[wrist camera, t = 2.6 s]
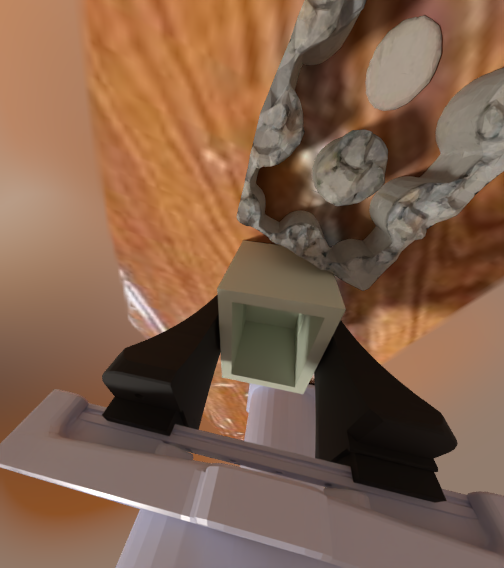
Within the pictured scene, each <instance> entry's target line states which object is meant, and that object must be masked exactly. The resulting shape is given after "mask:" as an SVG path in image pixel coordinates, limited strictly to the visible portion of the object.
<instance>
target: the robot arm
mask: <svg viewBox="0 0 504 568" xmlns="http://www.w3.org/2000/svg"><path fill="white" fill-rule="evenodd" d="M220 352H221V348H220V329H219V310H218V295H216V296H215V297H214V298H213V299H212V300H211V301H210V302H209V303H207V304H206V305H205V306H204V307H202V308H201V309H200V310H199V311H197V312H196V313H195V314H193V315H192V316H190V317H189V318H187V319H186V320H184V321H183V322H181V323H179V324H178V325H176V326H174V327H172V328H170V329H169V330H167V331H165V332H163V333H161V334H159V335H156V336H154V337H152V338H150V339H148V340H145V341H143V342H140V343H138V344H135V345H132V346H130V347H127V348H125V349H124V350H123V351H122V352H121V353H120V354H119V355H118V357H117V358H116V359H115V360H114V362H113V363H112V364H111V365H110V366H109V368H108V369H107V370H106V371H105V372H104V374H103V375H102V379H103V382H104V384H105V385H106V386H107V387H108V389H109V390H110V391H111V392H112V393H113V395H114V396H115V397H114V399H113V400H112V402H111V403H110V404H109V406H108V407H107V408H106V407H102V406H98V405H94V404H90V403H88V401H87V400H86V399H85V398H84V397H83V396H81V395H78V394H75V393H71V392H67V391H63V390H58V389H56V390H53V391H52V392H51V393H50V394H49V395H48V396H47V397H46V398H45V399H44V400H43V402H41V403H40V404H39V405H38V406H37V407H36V408H35V409H34V410H33V412H31V413H30V414H29V415H28V416H27V417H26V418H25V420H23V421H22V423H20V424H19V425H18V426H17V428H15V429H14V431H12V432H11V433H10V434H9V435H8V437H7V438H6V439H5V440H4V441H3V442H2V443H1V444H0V467H1V468H5V469H8V470H11V471H14V472H18V473H21V474H24V475H27V476H31V477H34V478H37V479H41V480H45V481H48V482H51V483H54V484H58V485H61V486H64V487H68V488H71V489H75V490H78V491H81V492H85V493H88V494H91V495H95V496H98V497H101V498H105V499H108V500H111V501H115V502H118V503H121V504H125V505H128V506H132V507H135V508H138V509H140V511H139V513H138V516H137V518H136V520H135V523H134V525H133V528H132V530H131V532H130V535H129V537H128V539H127V542H126V544H125V547H124V549H123V551H122V554H121V556H120V558H119V561H118V563H117V566H116V568H504V496H502V495H498V494H494V493H489V492H472V493H468V495H465V494H461V493H456V492H453V491H449V490H444V489H441V487H440V484H439V482H438V480H437V478H436V475H435V473H434V472H438V467H437V465H436V463H435V461H434V459H433V458H436V457H438V456H441V455H443V454H446V453H449V452H451V451H452V450H454V449H455V447H456V446H457V440H456V438H455V436H454V435H453V433H452V431H451V429H450V428H449V426H448V424H447V422H446V421H445V419H444V417H443V415H442V414H441V413H440V412H439V411H438V410H436V409H435V408H434V407H432V406H431V405H429V404H428V403H427V402H425V401H424V400H422V399H421V398H420V397H418V396H417V395H416V394H414V393H413V392H412V391H411V390H409V389H408V388H407V387H406V386H404V385H403V384H402V383H401V382H399V381H398V380H397V379H396V378H395V377H394V376H392V375H391V374H390V373H389V372H388V371H387V370H386V369H385V368H383V367H382V366H381V365H380V364H379V363H378V362H377V361H376V360H375V359H374V358H373V357H372V356H371V355H370V354H369V353H368V352H367V351H366V350H365V349H364V348H363V347H362V346H361V345H360V343H359V342H358V341H357V340H356V339H355V338H354V336H353V335H352V334H351V333H350V332H349V330H348V329H347V328H346V326H345V325H344V324H343V322H342V321H341V320H340V322H339V324H338V326H337V328H336V330H335V332H334V334H333V336H332V338H331V340H330V342H329V344H328V346H327V348H326V350H325V352H324V354H323V356H322V358H321V360H320V362H319V364H318V366H317V368H316V370H315V372H314V376H315V385H310V384H308V386H307V388H306V390H305V392H304V394H299V393H295V392H290V391H285V390H280V389H276V388H271V387H266V386H261V385H257V384H252V383H250V386H249V394H248V402H247V412H249V415H248V421H247V427H246V433H245V439H244V441H242V440H238V439H234V438H230V437H226V436H222V435H218V434H213V433H209V432H205V431H201V430H199V426H200V422H201V418H202V415H203V411H204V407H205V403H206V399H207V396H208V392H209V388H210V385H211V381H212V378H213V375H214V371H215V368H216V365H217V361H218V358H219V355H220ZM186 451H187V452H186ZM189 452H191V453H195V454H199V455H203V456H207V457H210V458H215V459H218V460H222V461H226V462H230V463H234V464H238V465H240V467H237V466H233V465H228V464H222V463H212V464H211V463H205V462H200V461H194V460H193V455H192V454H191V453H189ZM323 486H324V487H325V488H324V487H323Z"/></svg>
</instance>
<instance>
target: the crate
mask: <svg viewBox="0 0 504 568" xmlns="http://www.w3.org/2000/svg"><path fill="white" fill-rule="evenodd" d="M217 292H218V310H219V329H220V348H221V366H222V377H223V378H228V379H233V380H238V381H242V382H247V383H252V384H257V385H261V386H266V387H271V388H276V389H280V390H285V391H290V392H295V393H299V394H304V392H305V390H306V388H307V386H308V384H309V382H310V380H311V378H312V376H313V374H314V372H315V370H316V368H317V366H318V364H319V362H320V360H321V358H322V356H323V354H324V352H325V350H326V348H327V346H328V344H329V342H330V340H331V338H332V336H333V334H334V332H335V330H336V328H337V326H338V324H339V322H340V320H341V318H342V316H343V314H344V312H345V310H346V308H345V305H344V302H343V299H342V296H341V293H340V291H339V288H338V285H337V282H336V279H335V276H334V274H333V273H331V272H329V271H327V270H321V269H319V268H318V267H317V266H315V265H313V264H312V263H310V262H309V261H307V260H306V259H303V258H301V257H299V256H298V255H296V254H295V253H294V252H292V251H291V250H289V249H288V248H286V247H284V246H282V245H274V244H267V243H260V242H252V241H245V240H243V242H242V244H241V245H240V247H239V249H238V251H237V253H236V255H235V257H234V258H233V260H232V262H231V264H230V266H229V268H228V270H227V271H226V273H225V275H224V277H223V279H222V281H221V283H220V284H219V286H218V288H217Z"/></svg>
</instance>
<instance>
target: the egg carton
mask: <svg viewBox="0 0 504 568" xmlns="http://www.w3.org/2000/svg"><path fill="white" fill-rule="evenodd" d="M365 3H366V0H305V1H304V4H303V6H302V8H301V11H300V13H299V16H298V18H297V21H296V24H295V27H294V30H293V33H292V36H291V39H290V42H289V44H288V46H287V49H286V51H285V53H284V56H283V58H282V61H281V63H280V65H279V68H278V70H277V73H276V75H275V78H274V80H273V83H272V85H271V88H270V90H269V93H268V95H267V98H266V101H265V103H264V106H263V108H262V111H261V113H260V116H259V121H258V125H257V130H256V134H255V138H254V142H253V146H252V150H251V154H250V159H249V165H248V169H247V174H246V178H245V183H244V188H243V192H242V196H241V200H240V204H239V208H238V213H237V220H238V221H239V222H240V223H242V224H244V225H246V226H251V227H253V228H255V229H257V230H259V231H260V232H262V233H263V234H265V235H266V236H268V238H269V239H270V240H271V241H272V242H274V243H275V244H279V245H282V246H284V247H286V248H288V249H289V250H291V251H292V252H294V253H295V254H296V255H298V256H299V257H301V258H303V259H306V260H307V261H309V262H310V263H312V264H313V265H315V266H317V267H318V268H319V269H321V270H327V271H329V272H331V273H333V274H334V275H336V276H337V277H338V278H340V279H341V280H343V281H345V282H346V283H348V284H350V285H352V286H354V287H356V288H358V289H360V290H362V291H364V290H366V289H369V287H370V286H371V285H372V284H373V283H374V282H375V281H376V280H377V279H378V278H379V277H380V275H381V274H382V273H383V272H384V271H385V270H386V269H387V268H388V267H389V266H390V265H392V264H393V263H394V262H395V261H396V260H397V258H398V256H399V255H400V253H401V251H403V250H404V249H405V248H406V247H407V246H408V245H409V244H411V243H412V242H413V241H414V240H417V239H423V238H424V237H425V235H426V231H427V229H428V228H429V227H431V226H432V225H434V224H435V223H438V222H441V221H443V220H446V219H449V218H452V217H454V216H456V215H458V214H459V213H460V211H461V210H462V209H463V208H464V207H465V206H466V205H467V204H468V203H469V201H470V200H471V199H472V198H473V197H474V196H475V195H476V194H477V193H478V192H479V191H480V190H481V189H482V188H483V187H484V186H485V185H487V184H488V183H489V182H490V181H491V180H493V179H494V178H495V177H497V176H498V175H499V174H500V173H502V172H503V171H504V68H501V69H498V70H495V71H493V72H491V73H488V74H486V75H483V76H481V77H479V78H477V79H475V80H473V81H472V82H470V83H469V84H468V85H466V86H465V87H464V88H463V89H461V90H460V91H459V92H458V93H457V94H456V95H455V96H454V97H453V98H452V99H451V100H450V102H449V103H448V105H447V106H446V107H445V109H444V111H443V113H442V115H441V117H440V119H439V120H438V123H437V128H436V142H437V144H438V147H439V149H440V152H441V154H440V156H439V157H438V158H437V160H436V161H435V162H434V163H433V164H432V165H431V166H430V167H429V168H428V169H427V171H426V172H425V173H424V174H423V175H422V176H421V177H419V178H418V177H412V176H403V177H398V178H395V179H393V180H391V181H389V182H387V183H386V184H385V185H383V184H384V183H385V171H386V165H387V159H388V149H387V147H386V145H385V143H384V142H383V140H382V139H381V138H379V137H378V136H376V135H375V134H373V133H372V132H371V131H367V130H353V131H351V132H349V133H348V134H346V135H345V136H343V137H341V138H338V139H336V140H334V141H332V142H330V143H329V144H327V145H326V146H325V147H324V148H323V149H322V150H321V151H320V152H319V154H318V155H317V157H316V158H315V161H314V164H313V167H312V180H313V183H314V185H315V187H316V189H317V191H318V193H319V194H320V195H321V196H322V197H323V198H324V199H325V200H326V201H327V202H329V203H331V204H333V205H335V206H342V205H352V204H354V203H359V202H361V201H363V200H364V199H366V198H368V197H370V196H371V195H373V194H374V193H375V192H377V193H376V194H375V195H374V197H373V198H372V200H371V203H370V208H369V212H370V216H371V219H372V220H373V222H374V223H375V225H376V227H375V228H374V229H373V230H372V232H371V233H370V234H369V235H368V236H367V237H366V238H365V239H364V240H362V241H361V240H357V239H346V240H343V241H341V242H339V243H337V244H335V245H334V246H332V247H329V246H328V244H327V242H326V241H325V239H324V235H323V232H322V230H321V227H320V225H319V222H318V220H317V219H316V218H315V217H314V215H313V214H311V213H310V212H308V211H303V210H300V211H294V212H291V213H289V214H288V215H286V216H285V217H284V218H283V219H282V220H281V221H280V222H278V221H276V220H275V219H273V218H270V217H269V216H267V215H266V214H265V207H266V201H265V195H264V193H263V191H262V189H261V188H260V187H259V186H258V185H257V184H256V180H257V175H258V172H259V169H260V168H261V167H267V166H274V165H278V164H279V163H281V162H283V161H284V160H285V159H286V158H288V157H289V156H290V155H291V154H292V153H293V151H294V150H295V148H296V147H297V146H298V145H299V144H300V142H301V140H302V137H303V135H304V132H305V131H304V128H303V110H302V106H301V102H300V100H299V98H298V96H297V94H296V92H295V88H296V84H297V80H298V76H299V72H300V69H301V67H302V65H303V64H306V65H318V64H321V63H322V62H324V61H326V60H328V59H329V58H330V57H331V56H332V55H333V54H335V53H336V52H337V51H338V50H339V49H340V48H341V46H342V45H343V43H344V41H345V40H346V38H347V37H348V35H349V33H350V32H351V30H352V28H353V26H354V24H355V22H356V20H357V18H358V16H359V14H360V12H361V10H362V9H363V8H364V6H365ZM441 42H442V34H441V31H440V27H439V25H438V24H437V23H435V22H434V21H433V20H432V19H430V18H428V17H426V16H420V17H418V18H417V17H414V18H410V19H406V20H403V21H402V22H401V23H400V24H399V25H397V26H396V27H394V28H393V29H392V30H390V31H389V32H388V33H387V34H386V36H385V37H384V38H383V40H382V41H381V42H380V44H379V45H378V46H377V48H376V50H375V52H374V55H373V58H372V59H371V61H370V66H369V67H368V69H367V74H366V94H367V97H368V100H369V102H370V103H371V104H372V105H373V107H374V108H377V109H380V110H382V111H387V110H395V109H398V108H399V107H401V106H403V105H405V104H407V103H409V102H410V101H411V100H412V99H413V98H414V97H415V96H416V95H418V94H419V93H420V92H421V91H422V89H423V88H424V87H425V86H426V85H427V84H428V83H429V81H430V80H431V78H432V76H433V74H434V73H435V70H436V67H437V65H438V62H439V59H440V56H441ZM312 191H313V190H312ZM315 192H316V191H315Z"/></svg>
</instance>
